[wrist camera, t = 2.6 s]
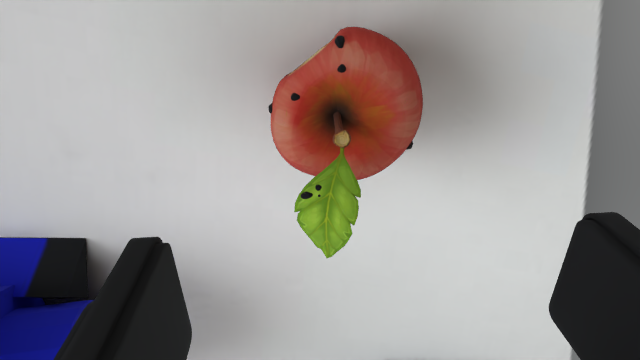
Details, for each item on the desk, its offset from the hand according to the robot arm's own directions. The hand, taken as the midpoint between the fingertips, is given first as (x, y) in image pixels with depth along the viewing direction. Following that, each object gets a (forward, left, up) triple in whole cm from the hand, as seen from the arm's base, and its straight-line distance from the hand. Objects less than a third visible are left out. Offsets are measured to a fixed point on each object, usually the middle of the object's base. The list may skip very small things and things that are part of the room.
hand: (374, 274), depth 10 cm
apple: (0, 0, -15) cm, 15 cm away
